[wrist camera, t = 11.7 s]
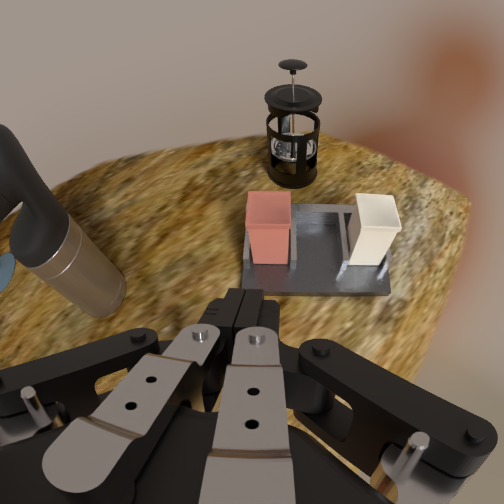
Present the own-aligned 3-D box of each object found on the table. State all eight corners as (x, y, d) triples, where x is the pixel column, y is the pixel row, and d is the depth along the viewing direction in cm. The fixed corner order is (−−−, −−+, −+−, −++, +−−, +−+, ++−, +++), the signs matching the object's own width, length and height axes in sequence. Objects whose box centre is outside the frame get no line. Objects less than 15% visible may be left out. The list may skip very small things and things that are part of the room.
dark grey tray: (387, 295, 41) (397, 283, 37) (242, 294, 43) (238, 281, 39) (375, 220, 48) (382, 204, 44) (249, 217, 50) (246, 200, 47)
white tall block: (380, 266, 42) (401, 228, 33) (346, 266, 42) (361, 226, 34) (375, 236, 44) (393, 195, 36) (343, 235, 45) (355, 193, 36)
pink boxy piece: (289, 265, 43) (290, 225, 35) (252, 264, 44) (245, 224, 35) (289, 234, 46) (290, 191, 37) (254, 234, 47) (248, 191, 38)
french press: (325, 186, 53) (338, 74, 33) (277, 196, 52) (271, 80, 33) (304, 147, 59) (306, 47, 39) (260, 155, 58) (251, 52, 39)
